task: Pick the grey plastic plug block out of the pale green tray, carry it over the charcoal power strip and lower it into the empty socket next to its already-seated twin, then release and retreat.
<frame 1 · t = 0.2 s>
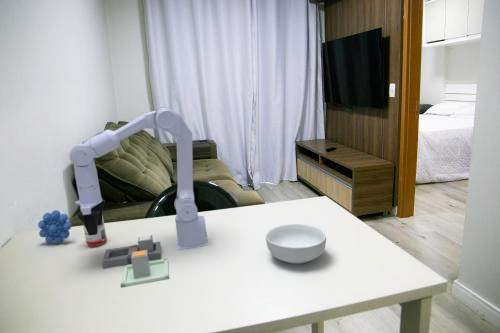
hand: (95, 229, 101), 10 cm above the table, fingers open, 7 cm apart
grapes: (59, 242, 118), on the table
tray: (146, 274, 94), on the table
beer can: (97, 244, 115), on the table
plug: (142, 273, 93), resting on tray
cereal bowl: (296, 257, 99), on the table
twin plug: (147, 256, 104), resting in pdu strip
pdu strip: (133, 258, 103), on the table
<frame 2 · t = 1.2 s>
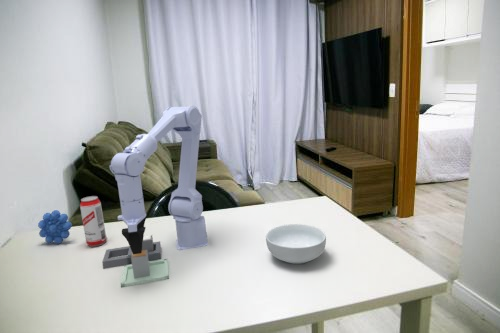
hand: (138, 246, 91), 8 cm above the table, fingers open, 7 cm apart
nothing on the table moved.
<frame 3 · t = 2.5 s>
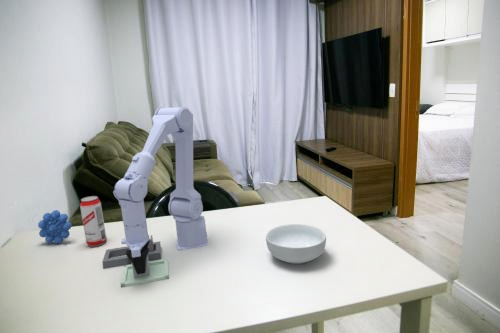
hand: (141, 269, 93), 2 cm above the table, fingers closed on plug, 3 cm apart
plug: (142, 273, 93), resting on tray, touching gripper
everything else where it was.
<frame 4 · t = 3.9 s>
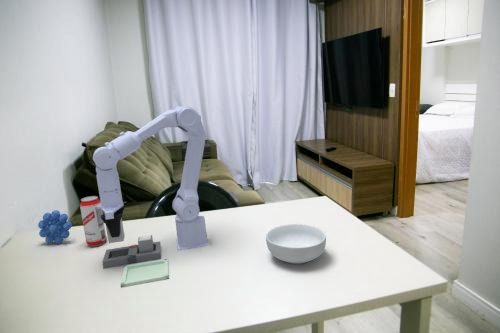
hand: (116, 233, 100), 9 cm above the table, fingers closed on plug, 3 cm apart
plug: (116, 239, 100), point 7 cm above the table, touching gripper
everything else where it was.
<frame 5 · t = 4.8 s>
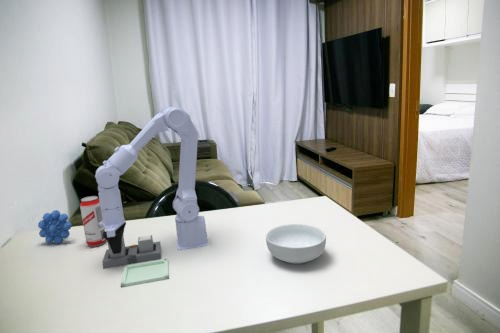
hand: (118, 249, 101), 4 cm above the table, fingers closed on plug, 3 cm apart
plug: (118, 255, 102), point 2 cm above the table, touching gripper
everything else where it was.
when the fingers open (3 cm above the table, at t = 5.3 s): plug drops 1 cm, resting in pdu strip.
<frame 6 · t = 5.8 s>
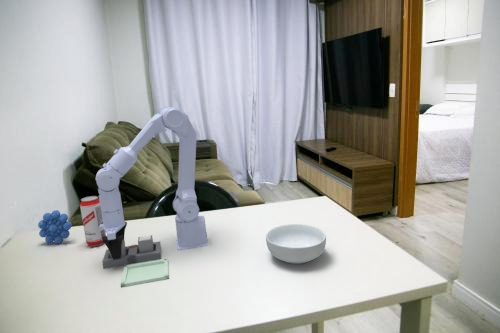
hand: (118, 252, 102), 3 cm above the table, fingers open, 7 cm apart
plug: (119, 261, 102), resting in pdu strip
everything else where it was.
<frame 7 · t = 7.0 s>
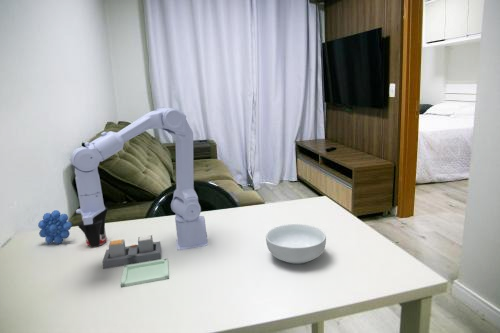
hand: (97, 239, 94), 10 cm above the table, fingers open, 7 cm apart
nothing on the table moved.
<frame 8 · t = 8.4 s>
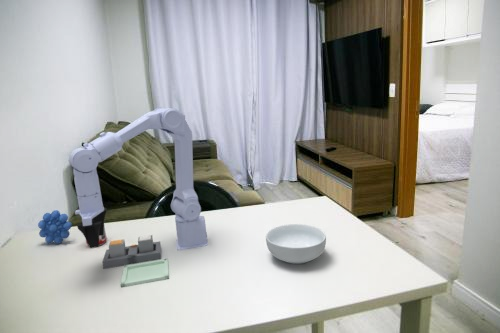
hand: (96, 240, 93), 10 cm above the table, fingers open, 7 cm apart
nothing on the table moved.
at the end: plug 0.2 cm from the target spot on the pdu strip, point 0.0 cm above the pdu strip's base; the gripper is holding nothing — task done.
